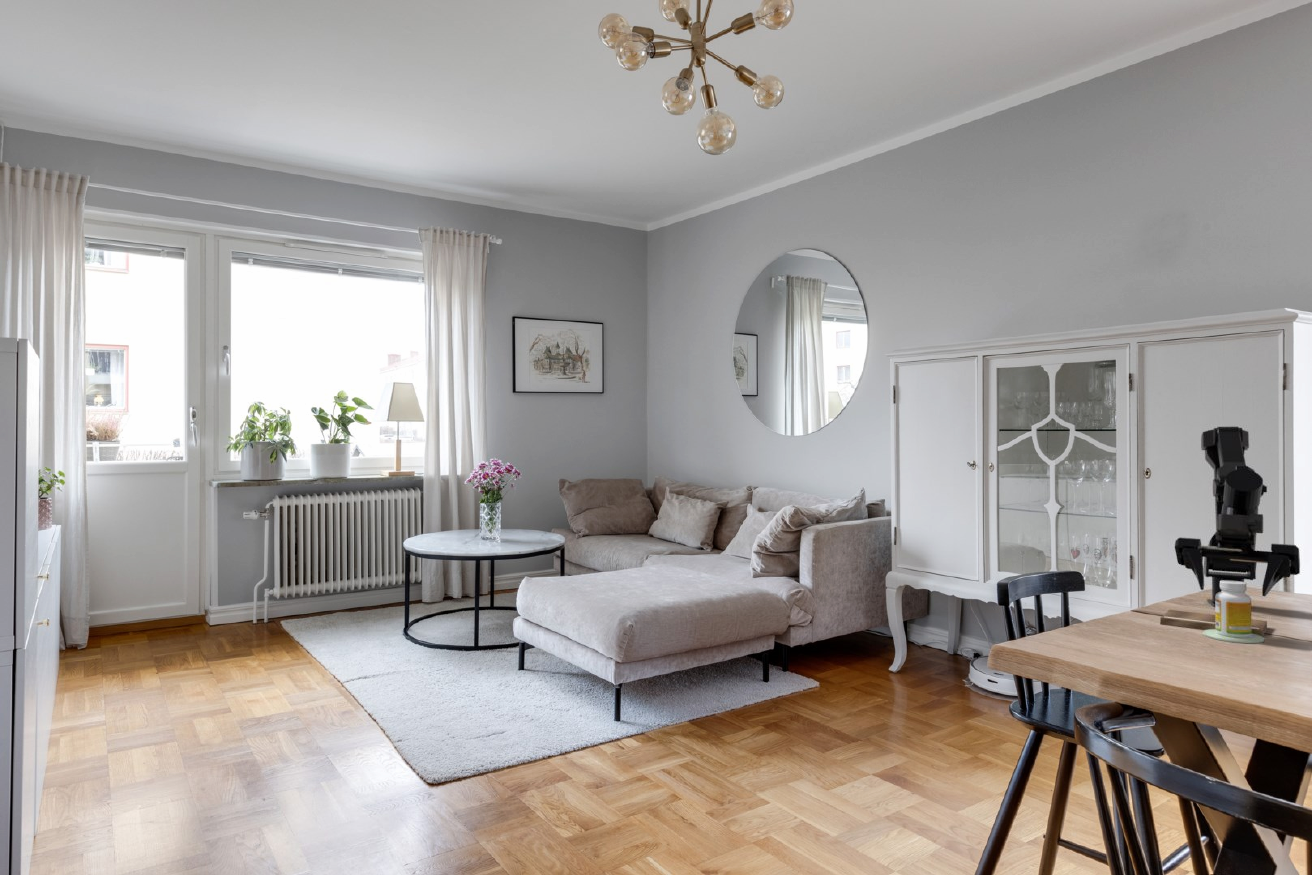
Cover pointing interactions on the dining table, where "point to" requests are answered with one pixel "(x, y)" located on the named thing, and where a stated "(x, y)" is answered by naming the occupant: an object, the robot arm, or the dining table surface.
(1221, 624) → the supplement bottle
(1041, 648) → the dining table surface
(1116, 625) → the dining table surface
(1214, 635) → the end pad
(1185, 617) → the walnut board
